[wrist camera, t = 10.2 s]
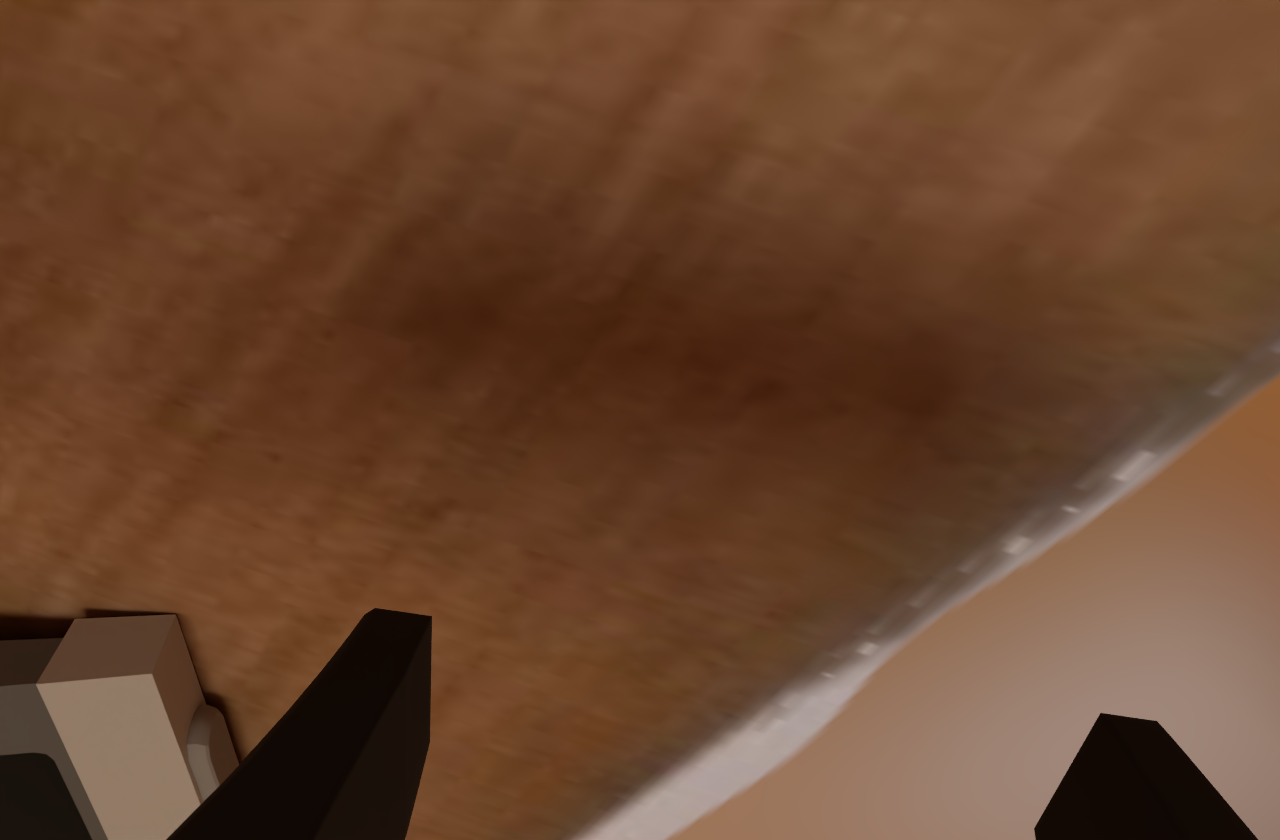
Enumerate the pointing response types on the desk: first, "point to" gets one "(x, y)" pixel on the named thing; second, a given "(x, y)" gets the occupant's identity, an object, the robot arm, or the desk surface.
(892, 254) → the desk surface
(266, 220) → the desk surface
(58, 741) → the alarm clock
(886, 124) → the desk surface
